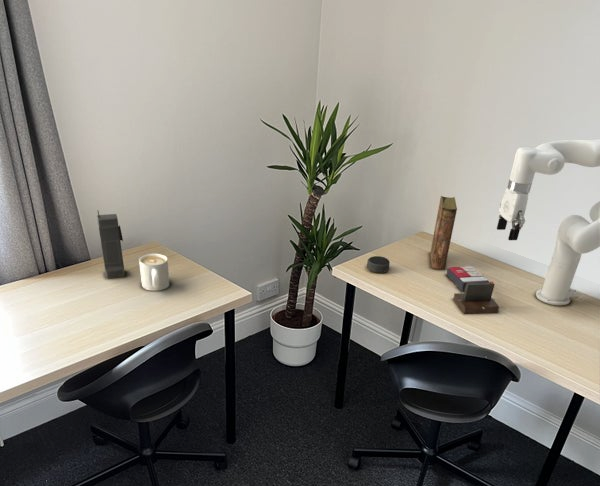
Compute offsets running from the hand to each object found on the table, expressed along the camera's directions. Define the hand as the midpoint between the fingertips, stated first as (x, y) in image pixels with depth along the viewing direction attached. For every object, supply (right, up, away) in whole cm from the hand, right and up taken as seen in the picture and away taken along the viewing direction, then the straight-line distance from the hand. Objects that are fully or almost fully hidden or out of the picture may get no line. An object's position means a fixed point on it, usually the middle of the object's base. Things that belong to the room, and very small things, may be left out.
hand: (506, 234), depth 217 cm
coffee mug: (-127, -17, +7) cm, 129 cm away
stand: (-9, -24, +7) cm, 27 cm away
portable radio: (-143, -12, +14) cm, 145 cm away
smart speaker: (-42, -6, +29) cm, 52 cm away
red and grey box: (-8, -13, +23) cm, 28 cm away
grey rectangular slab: (-9, -22, +6) cm, 25 cm away
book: (-16, -1, +38) cm, 41 cm away
